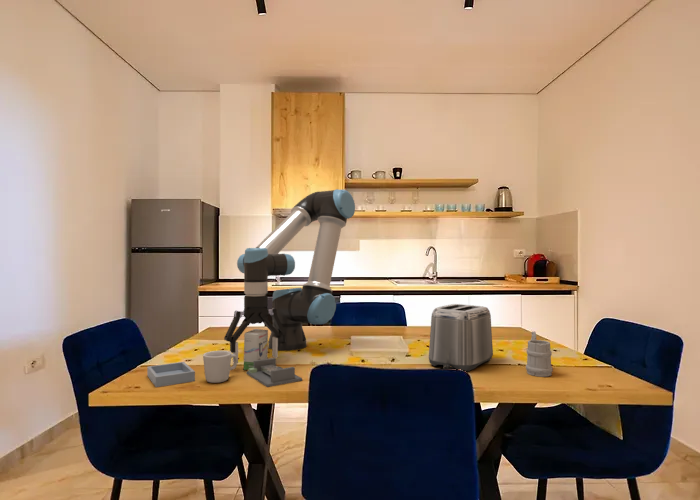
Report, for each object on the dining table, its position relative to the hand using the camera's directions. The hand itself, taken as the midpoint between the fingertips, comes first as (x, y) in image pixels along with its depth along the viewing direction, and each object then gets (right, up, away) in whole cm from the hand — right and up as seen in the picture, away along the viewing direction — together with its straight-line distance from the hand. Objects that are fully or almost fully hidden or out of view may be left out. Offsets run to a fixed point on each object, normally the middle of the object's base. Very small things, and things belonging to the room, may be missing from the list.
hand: (255, 359), depth 144 cm
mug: (+90, -3, -6) cm, 90 cm away
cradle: (+8, -2, -12) cm, 14 cm away
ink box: (0, -3, 0) cm, 3 cm away
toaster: (+68, -3, +5) cm, 68 cm away
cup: (-7, -3, -14) cm, 16 cm away
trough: (-23, -2, -13) cm, 26 cm away
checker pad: (+8, -1, -12) cm, 14 cm away
